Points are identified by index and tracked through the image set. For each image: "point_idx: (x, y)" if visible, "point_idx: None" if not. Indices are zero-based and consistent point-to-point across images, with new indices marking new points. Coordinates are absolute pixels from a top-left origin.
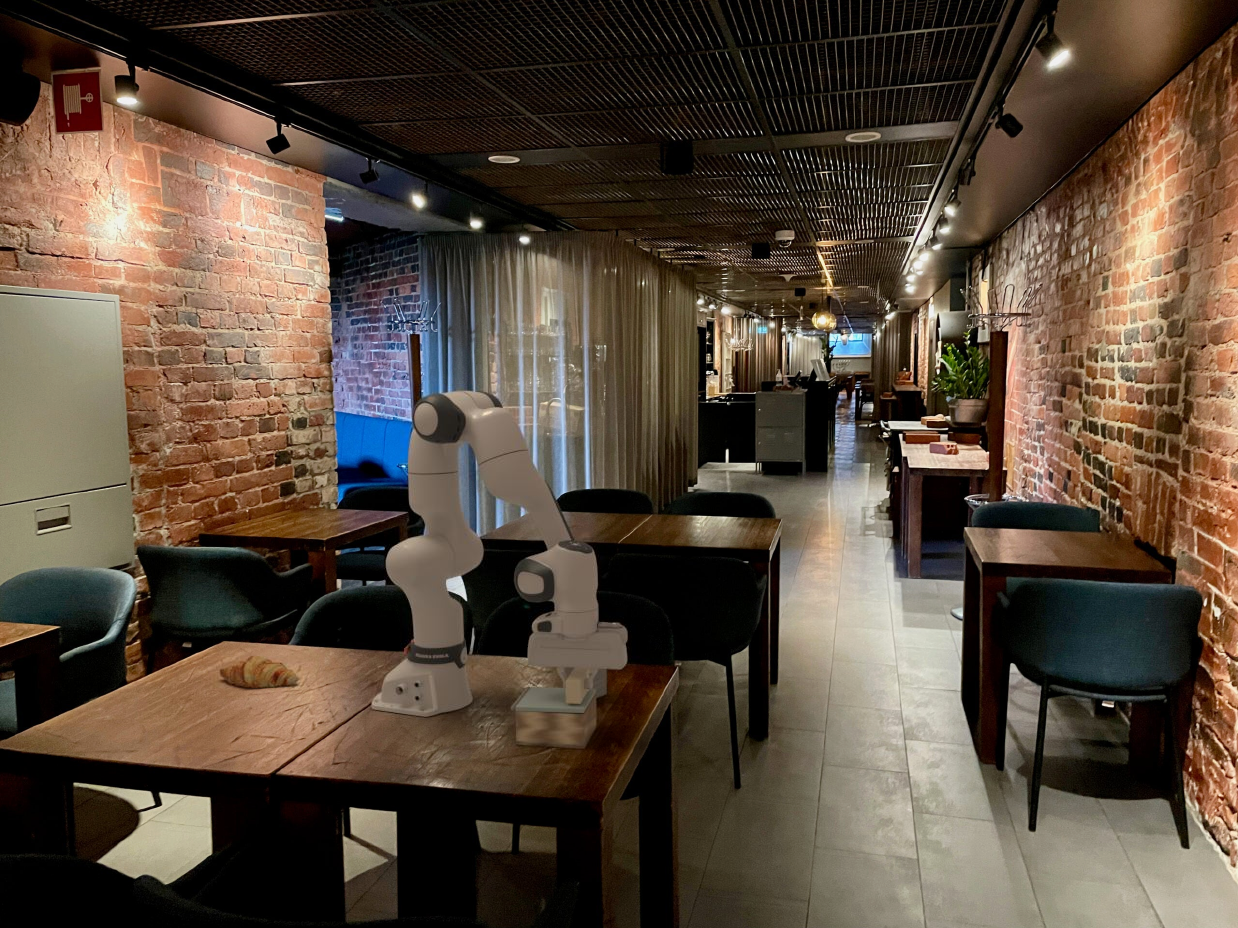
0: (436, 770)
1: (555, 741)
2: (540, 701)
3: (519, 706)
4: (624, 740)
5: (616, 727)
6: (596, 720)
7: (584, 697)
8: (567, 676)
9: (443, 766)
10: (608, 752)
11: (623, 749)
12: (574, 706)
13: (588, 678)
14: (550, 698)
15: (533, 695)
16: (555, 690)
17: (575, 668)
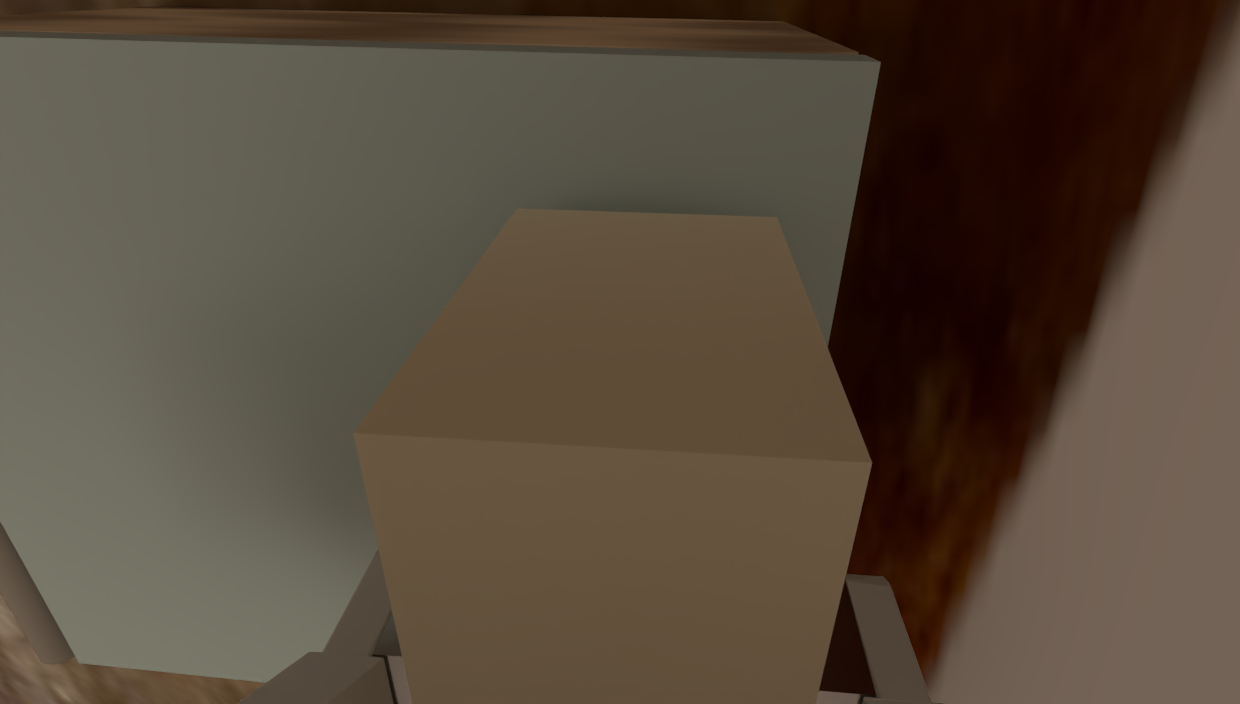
0: (84, 692)
1: None
2: (231, 560)
3: (109, 654)
4: (1031, 317)
5: (988, 30)
6: (791, 25)
7: None
8: (372, 667)
9: (83, 664)
10: (894, 503)
11: (1004, 459)
12: None
13: (832, 698)
14: (294, 482)
15: (32, 388)
16: (203, 189)
17: (422, 552)
